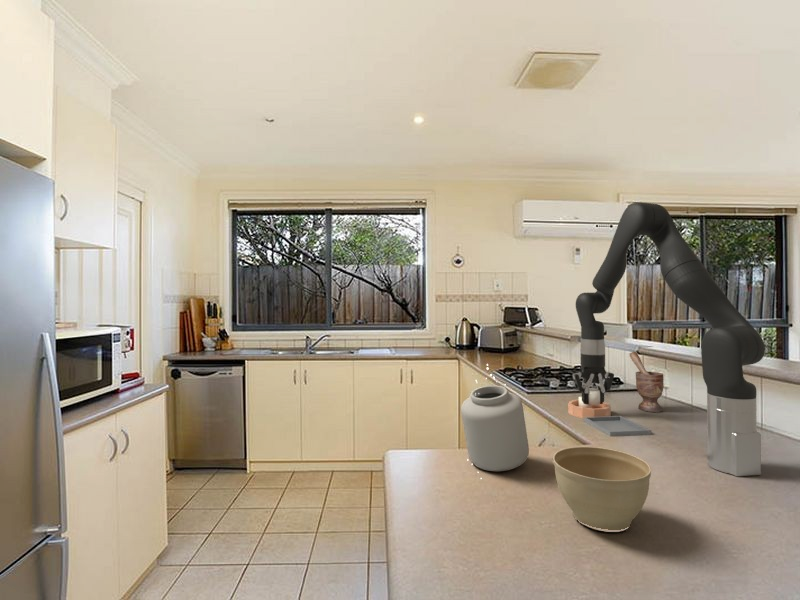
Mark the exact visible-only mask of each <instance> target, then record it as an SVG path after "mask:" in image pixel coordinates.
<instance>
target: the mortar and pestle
mask: <svg viewBox="0 0 800 600" xmlns="http://www.w3.org/2000/svg"><path fill="white" fill-rule="evenodd" d="M628 354H629V357H630V359H631V361H632V362H633V364H634V365H635V366H636V368H637V369H638V371H636V372H635V383H636V384H635V385H636V390H637V393H638V395H639V396H640V397H641V398H642V400H641V402H639V404H638V408H637V409H638V410H641V411H644V412H649V413H650V412H651V413H657V412H658V413H660V412H662V411H663V407H662V405H661V404H660V403H659V402H658V400H659V399H660V397H662V395H663V391H664V373H662V372H658V371H647V369H646V367H645V366H644V363H643V362H642V360H641V357H640V356H639V354H638V353H637V351H632V352H630V353H628Z"/></svg>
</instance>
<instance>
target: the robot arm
mask: <svg viewBox="0 0 800 600" xmlns="http://www.w3.org/2000/svg"><path fill="white" fill-rule="evenodd" d="M621 214H622V215H621V216H620V219H619V221H618V225H617V228H616V229H615V231H614V234H613V238H612V240H611V243H610V245H609V249H608V250H607V254H606V256H605V258H604V260H603V262H602V263H601V265H600V267H599V269H598V271H597V272H596V274H595V276H594V277H593V280H592V281H591V282H592V284H591V285H592V287H593V288H594V289H595V290H596V291H595V292H582V293H580V294H579V295H577V298H576V300H575V309H576V314H577V316H578V321H579V323H580V333H581V334H580V347H579V351H580V370H579V372H575V373H574V372H572V374H571V377H572V380H573V384H574V388H575V390H576V391H578V392H581V396H582V402H583V403H584V404H589V401H588V390H589V388H591V386H592V384H594V385H596V389H599V390H600V404H603V402H605V392H608V391H610V390H611V388H612V385H613V381H614V378H615V377H614V376H615V373H613V372H609V371H607V370H606V369H605V367H606V343H605V325H604V323H603V322H602V321H599V320H596V318H595V316H594V314H602V313H605V312H606V311H607V310H608V309H609V308H610V306H611V304H612V301H613V298H614V297H613V296H614V293H615V289H616V288H617V286H618V284H619V283H620V282H621V279H622V278H623V277H624V274H625V272H626V270H627V264H628V263H627V261H628V259H627V257H628V256H627V255H628V250H629V248H630V246H631V244H632V243H633V241H634V240H635V238H636V237H637V236H646V237H648V238H649V239H650V240H651V241H652V242H653V244H654V245H655V247H656V248H657V249H658V252H659V255H660V273H661V275H662V278H663V280H664V281H665V283H666V284H667V286H668V287H669V289H670V290H671V292H672V293H673V294H674V295H675V296H676V297H677V299H679V300H680V301H681V302H682V303H684V304H685V305H686V306H688V307H689V308H690V309H692V310H693V311H695V312H696V313H698V314H699V315H700V316H702V318H704V320H705V321H707V322H708V324H709V325H710V326H711V329H709V330H707V331H706V333H705V334H704V335H703V337H702V341H701V347H700V349H701V350H700V351H701V352H700V354H701V368H702V378H703V381H704V383H705V386H706V395H707V396H706V397H707V398H706V401H707V402H706V406H707V407H706V410H707V412H706V414H707V416H706V417H707V418H706V424H707V425H706V429H707V431H706V433H707V435H706V436H707V437H706V439H707V440H706V441H707V465H708V466H709V467H710V468H712V469H714V470H717V471H719V472H722V473H726V474H731V475H733V476H735V477H744V476H745V477H747V476H762V445H761V444H762V443H761V442H762V436H761V435H762V433H760V432H759V431H758V430H757V429H758V428H757V427H758V426H757V425H758V424H757V411H758V410H757V387H756V385H755V384H753V383H752V382H750V381H747V380H746V379H745V377H744V372H743V366H748V365H749V366H750V365H755V364H757V363H759V362H761V361H762V359H763V358H764V356H765V353H766V347H765V346H766V345H765V342H764V340H763V338H762V337H761V335H760V333H759V332H758V331H757V330H756V328H755V327H753V325H751V323H750V322H749V321H748V320H747V319H746V318H745V317H744V316H743V315H742V314H741V312H740V311H738V309H737V308H736V307H735V306H734V304H733V303H732V302H731V301H730V299H729V298H728V297H727V295H726V294H725V292H724V291H723V290H722V289H721V287H720V285H718V283H717V282H716V281H715V280H714V278H713V276H712V275H711V274H710V273H709V272H710V271H708V269H707V268H706V267H705V265H704V264H703V263H702V261H701V260H700V259H699V257H698V256H697V255H696V254H695V253H694V251H693V250H692V248H691V247H690V245H689V244H688V242H687V241H686V240H685V239H684V237H683V236H682V234H681V232H680V231H679V229H678V227H677V225H676V223H675V222H674V220H673V218H672V215H670V213H669V212H668V209H666V207H664V206H663V205H660V204H658V203H651V202H641V201H639V202H633V203H631V204H629V205H628V206H627V207H626V208H625V210H624V211H623V212H622V213H621ZM581 377H582V378H581ZM581 379H582V382H581ZM603 379H604V380H603Z"/></svg>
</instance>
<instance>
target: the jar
mask: <svg viewBox="0 0 800 600" xmlns="http://www.w3.org/2000/svg"><path fill="white" fill-rule="evenodd" d="M486 366H488V367H486V370H487V371H488V370H490V368H489V364H488V363H487V364H486ZM489 376H490V377H492V376H493V374H492V373H491V374H489ZM492 378H493V380H494V381H495V380H496V378H495V376H493V377H492ZM487 379H488V378H487V377H485V380H487ZM475 382H476V384H478V380H477V379H475ZM496 383H498V381H497V380H496ZM505 386H506V383H504V386H503V385H495V384H491V385H484V386H480V387H477V388H475V389H473V390H471V392H470V395H469V397H467V398H466V399H465V400H463V402H462V404H461V407H460V412H461V419H462V425H463V426H462V427H463V431H464V437H465V444H466V450H467V454H468V457H469V459H468V458H467V461H469V460H470V461H471V466H473V465H474V466H476V467H477V468H479V469H481V470H485V471H488V472H489V471H490V472H505V471H510V470H513V469H515V468H518V467H520V466H521V465H523V464H524V463H526V460H527V459H528V457H529V454H530V448H529V447H530V446H529V440H528V433H527V427H526V421H525V413H524V406H523V402H522V400H521V398H520V397H519V396H518V395H517V394H514V393H512V392H510V391H509V390H508V387H505ZM477 473H478V474H479V473H480V472H479V471H477ZM480 480H483V478H482V477H480Z"/></svg>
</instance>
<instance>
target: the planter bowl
mask: <svg viewBox="0 0 800 600" xmlns="http://www.w3.org/2000/svg"><path fill="white" fill-rule="evenodd" d="M552 461H553V465H554V472H555V473H554V474H555V480H556V483H557V486H558V489H559V491H560V493H561V496H562V497H563V499H564V501H565V503H566V504H567V506H568V508H570V510H571V511H572V515H574V516H573V517H575V518H576V519H577V520H579V521H580V522H582V523H584V524H587V525H589V526H592V527H596V528H601V529H608V530H621V529H625V528H627V527H629V526H630V524H631V525H632V521H633V520H634V519H635V518H637V516H638V514H639V513H640V512H641V510H642V509H643V507H644V505H645V503H646V500H647V497H648V495H649V494H648V493H649V489H650V488H649V487H650V478H651V476H652V475H651V474H652V470H651V466H650V465H649V464H648V463H647V462H646V461H645V460H643V459H642V458H640V457H638V456H636V455H633V454H631V453H628V452H626V451H625V452H624V451H620V450H615V449H612V448H606V447H605V448H604V447H597V446H571V447H565V448H561V449H560V450H558V451H556V452H555V453H554V454H553V457H552ZM575 518H574V519H575ZM630 527H631V526H630Z"/></svg>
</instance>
